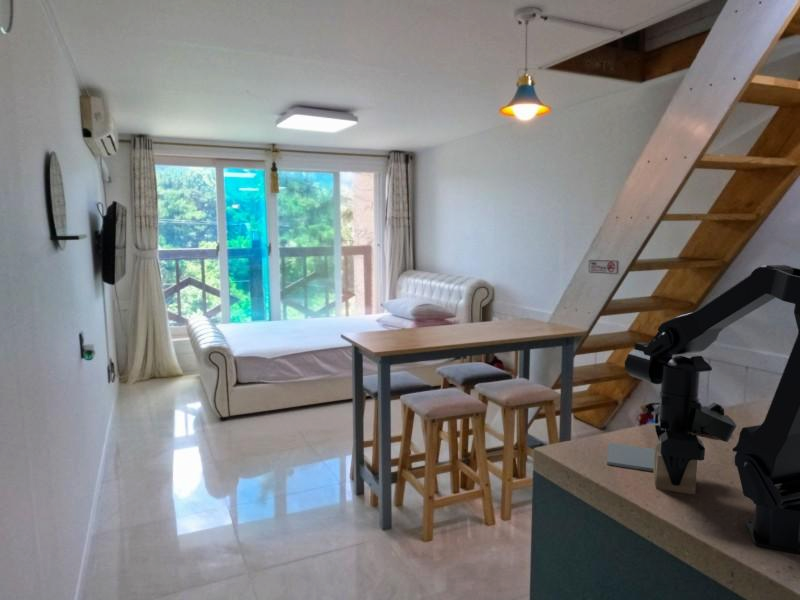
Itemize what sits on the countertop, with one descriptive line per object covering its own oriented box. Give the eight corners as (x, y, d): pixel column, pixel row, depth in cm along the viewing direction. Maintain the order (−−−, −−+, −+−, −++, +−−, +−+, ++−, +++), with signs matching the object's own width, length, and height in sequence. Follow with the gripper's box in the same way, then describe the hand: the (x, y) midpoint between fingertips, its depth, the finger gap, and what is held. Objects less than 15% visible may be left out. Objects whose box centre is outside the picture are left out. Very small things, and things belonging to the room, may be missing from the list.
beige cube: (694, 494, 88) (697, 461, 88) (655, 488, 91) (657, 455, 90) (690, 479, 94) (692, 447, 93) (653, 473, 96) (655, 442, 95)
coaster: (665, 473, 96) (665, 470, 96) (607, 464, 100) (607, 461, 100) (661, 452, 105) (661, 449, 105) (607, 445, 109) (608, 442, 109)
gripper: (746, 414, 79) (738, 511, 80) (723, 382, 96) (716, 463, 98) (663, 405, 83) (658, 498, 85) (655, 376, 100) (651, 454, 102)
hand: (673, 477), depth 92 cm, fingers closed on beige cube, 6 cm apart
